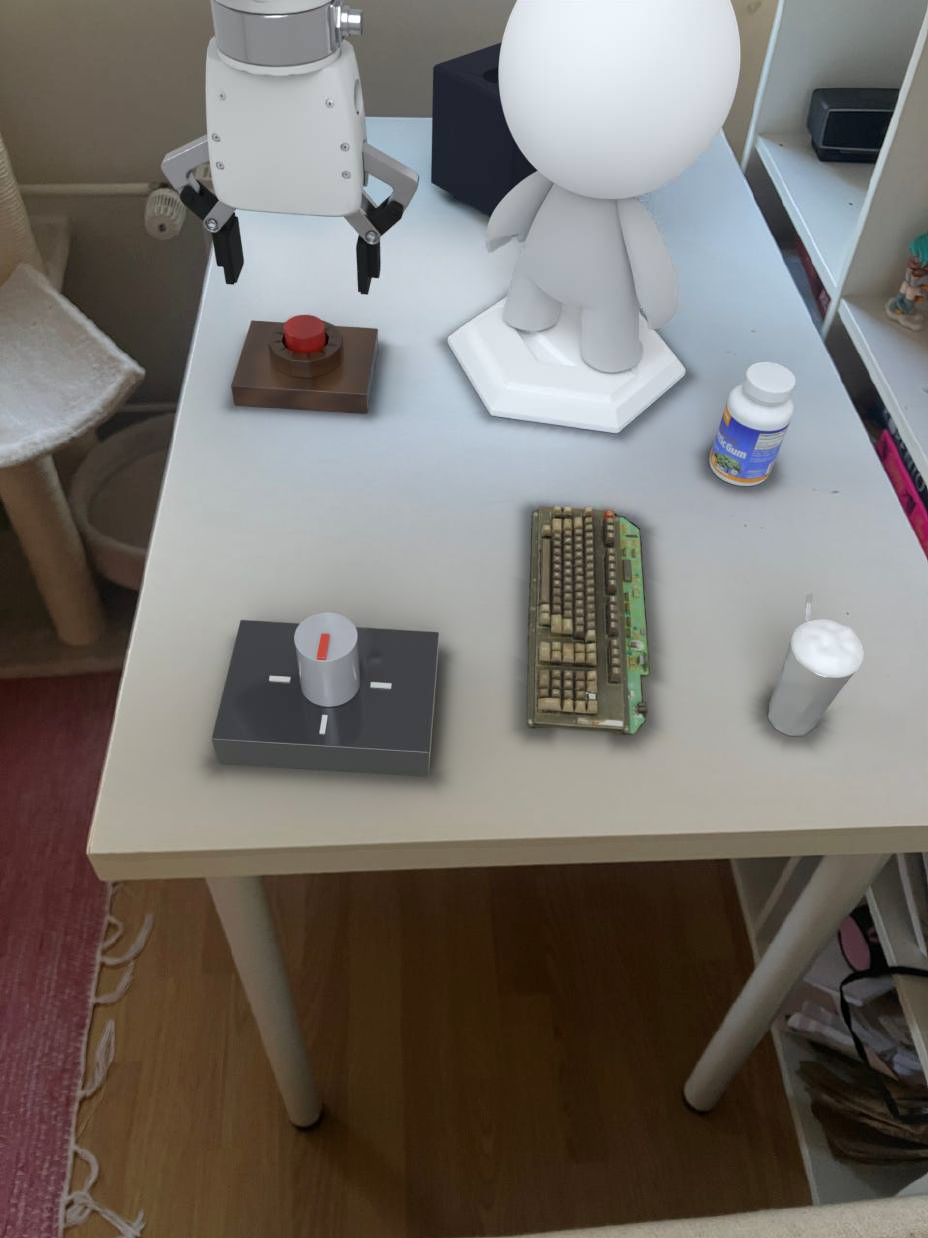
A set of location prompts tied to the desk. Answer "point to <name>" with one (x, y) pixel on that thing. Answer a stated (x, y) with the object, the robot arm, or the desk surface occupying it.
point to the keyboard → (586, 621)
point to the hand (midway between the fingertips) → (300, 279)
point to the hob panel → (329, 736)
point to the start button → (304, 334)
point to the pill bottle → (753, 425)
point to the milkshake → (813, 673)
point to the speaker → (473, 132)
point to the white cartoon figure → (595, 202)
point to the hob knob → (328, 658)
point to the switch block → (306, 370)
